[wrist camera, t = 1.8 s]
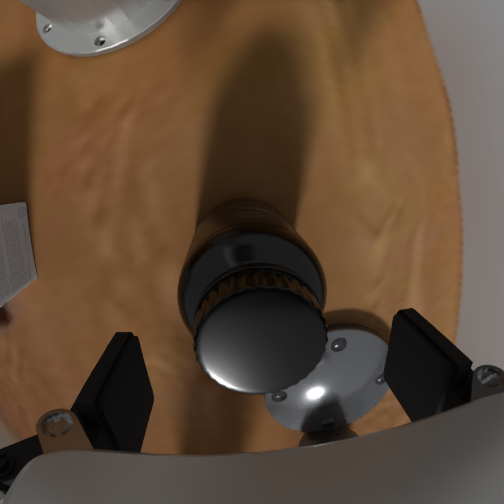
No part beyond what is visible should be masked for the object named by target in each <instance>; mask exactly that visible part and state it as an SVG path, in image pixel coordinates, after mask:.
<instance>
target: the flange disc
mask: <svg viewBox="0 0 504 504" xmlns="http://www.w3.org/2000/svg"><path fill="white" fill-rule="evenodd" d="M327 337H328V342H327V344H326V346H325V347H326V352H325V353H324V354H323V355H322V360H321V362H320V363H319V364H317V365H316V368H315V370H314V371H312V372H311V373H309V375H308V376H307V378H305V379H303V380H301V381H300V382H299V383H298V384H297V385H293V386H290V387H289V388H288V389H286V390H280V391H278V392H276V393H267V394H265V400H266V405H267V408H268V411H269V412H270V414H271V415H272V417H273V418H274V419H275V420H276V421H277V422H279V423H280V424H282V425H283V426H285V427H287V428H290V429H293V430H297V431H302V432H322V431H328V430H332V429H336V428H339V427H342V426H345V425H347V424H349V423H351V422H353V421H355V420H357V419H359V418H360V417H362V416H363V415H365V414H366V413H368V412H369V411H370V410H371V409H372V408H373V407H375V406H376V405H377V403H378V402H379V401H380V400H381V399H382V398H383V396H384V395H385V394H386V392H387V390H388V389H389V386H388V384H387V383H386V381H385V380H384V376H383V371H384V366H385V361H386V356H387V351H388V345H387V344H386V343H385V341H384V340H383V339H382V338H381V337H380V336H379V335H378V334H377V333H376V332H374V331H373V330H371V329H369V328H366V327H363V326H360V325H354V324H338V325H331V326H328V333H327Z"/></svg>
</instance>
